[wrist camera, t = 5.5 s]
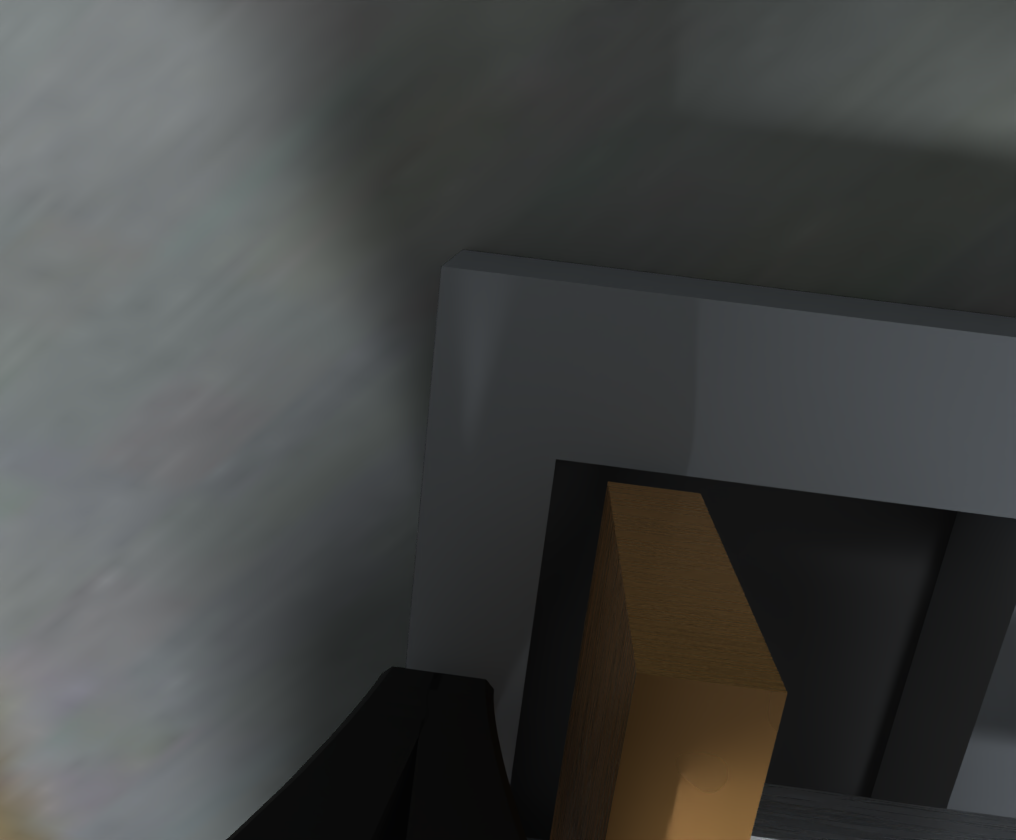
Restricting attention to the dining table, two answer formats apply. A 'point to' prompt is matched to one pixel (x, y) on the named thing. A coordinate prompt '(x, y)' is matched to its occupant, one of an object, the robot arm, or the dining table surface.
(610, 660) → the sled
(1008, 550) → the tunnel deck
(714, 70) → the dining table surface
